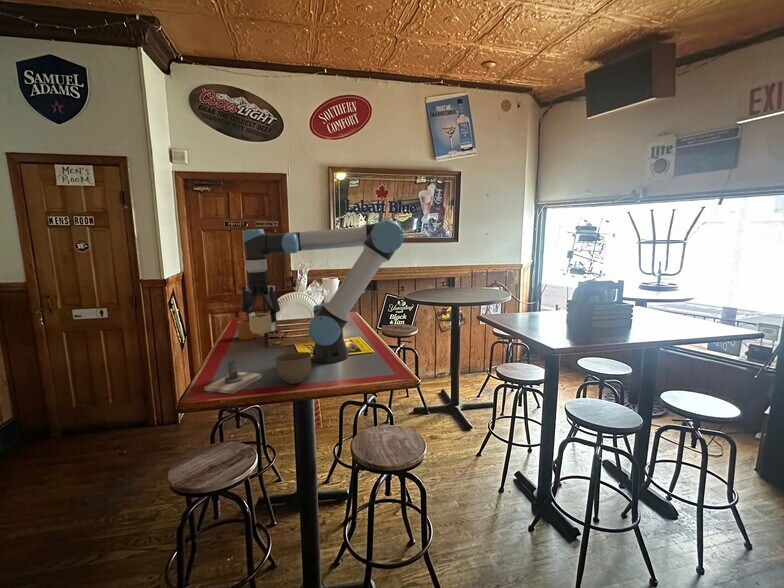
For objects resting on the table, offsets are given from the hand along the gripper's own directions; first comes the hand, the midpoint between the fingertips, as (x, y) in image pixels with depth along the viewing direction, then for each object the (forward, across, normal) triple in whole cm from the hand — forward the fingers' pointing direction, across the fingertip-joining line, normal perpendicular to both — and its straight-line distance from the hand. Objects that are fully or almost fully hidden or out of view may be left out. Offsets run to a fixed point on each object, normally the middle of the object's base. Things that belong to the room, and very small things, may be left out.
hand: (262, 330), depth 157 cm
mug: (+17, +39, -41) cm, 59 cm away
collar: (0, 0, 0) cm, 0 cm away
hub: (+17, +4, +14) cm, 22 cm away
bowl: (+17, -17, +7) cm, 25 cm away
